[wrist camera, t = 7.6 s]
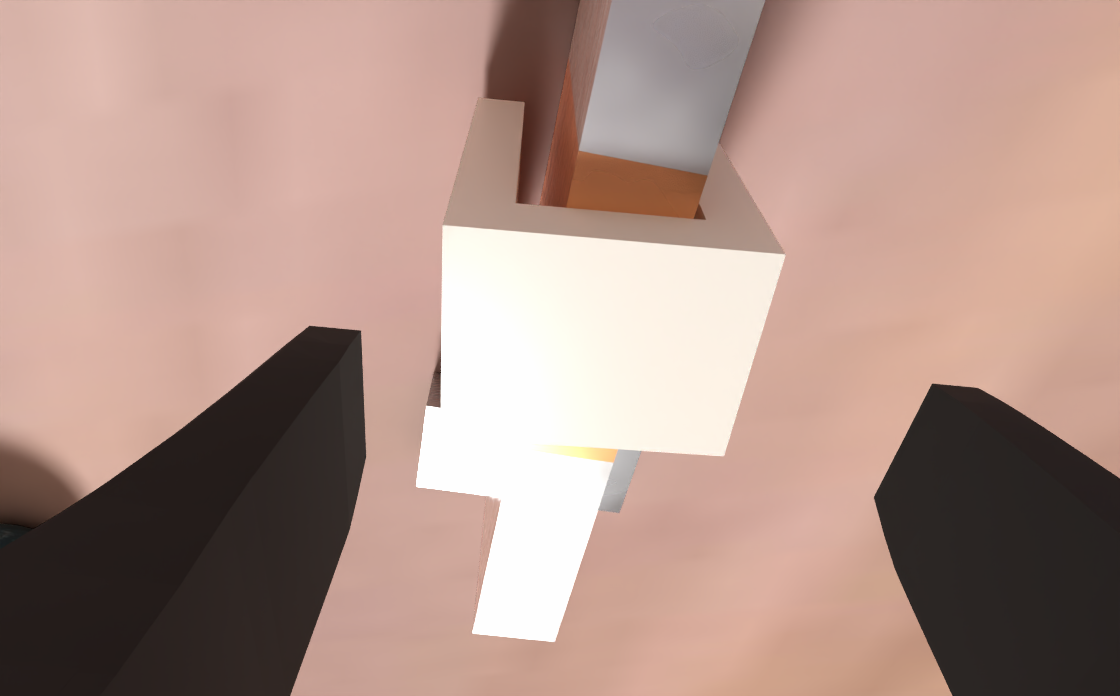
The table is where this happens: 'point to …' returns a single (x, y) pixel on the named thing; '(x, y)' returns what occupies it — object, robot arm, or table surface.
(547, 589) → the grey and orange bar
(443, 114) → the table surface
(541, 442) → the clip
